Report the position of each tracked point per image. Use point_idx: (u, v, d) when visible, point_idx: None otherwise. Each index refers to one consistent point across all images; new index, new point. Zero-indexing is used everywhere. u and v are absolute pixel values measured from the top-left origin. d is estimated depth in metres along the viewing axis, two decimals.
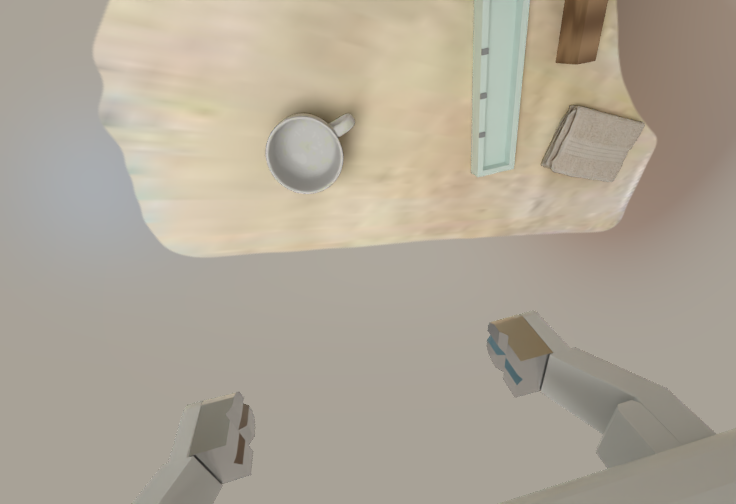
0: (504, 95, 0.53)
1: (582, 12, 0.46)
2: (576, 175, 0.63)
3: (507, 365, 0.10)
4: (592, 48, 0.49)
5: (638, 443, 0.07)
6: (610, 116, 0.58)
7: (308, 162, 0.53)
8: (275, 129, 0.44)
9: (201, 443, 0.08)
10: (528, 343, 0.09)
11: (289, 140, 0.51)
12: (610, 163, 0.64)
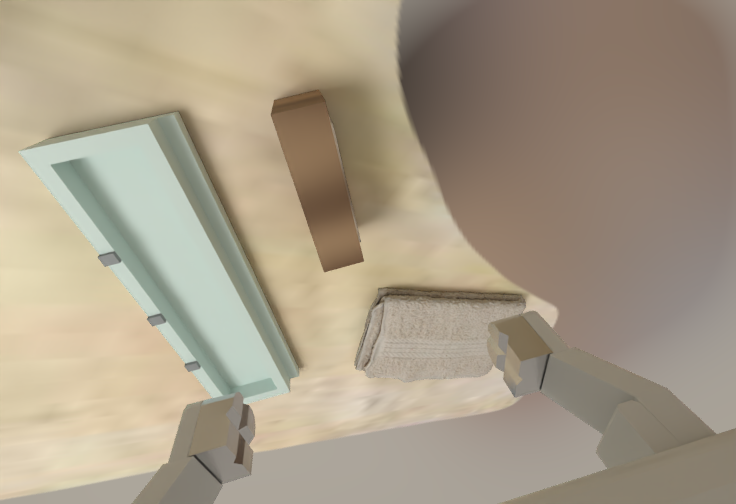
0: (224, 299, 0.28)
1: None
2: (416, 378, 0.38)
3: (507, 365, 0.10)
4: (346, 245, 0.23)
5: (638, 443, 0.07)
6: (454, 306, 0.33)
7: None
8: None
9: (201, 443, 0.08)
10: (528, 343, 0.09)
11: None
12: (475, 358, 0.38)
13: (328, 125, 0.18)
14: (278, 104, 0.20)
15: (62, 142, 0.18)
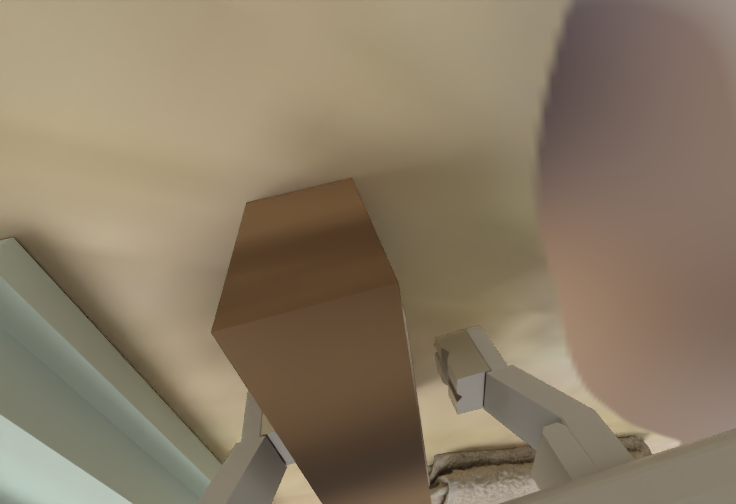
0: None
1: None
2: None
3: (450, 381, 0.10)
4: None
5: (559, 468, 0.07)
6: None
7: None
8: None
9: None
10: (467, 360, 0.09)
11: None
12: None
13: (398, 336, 0.06)
14: (251, 236, 0.07)
15: None
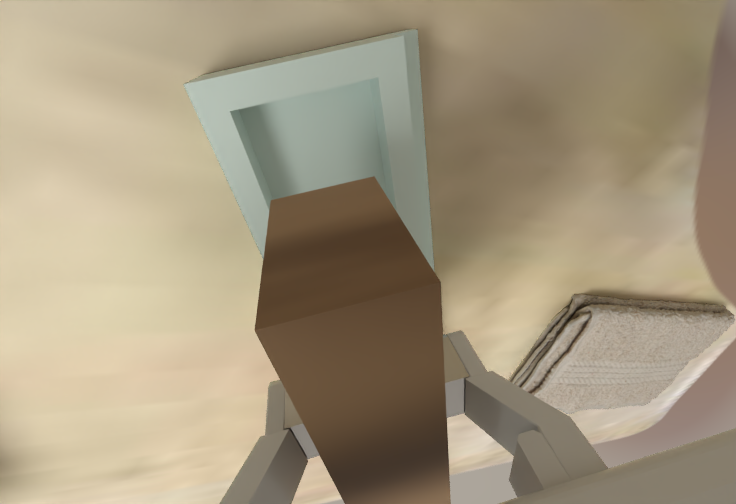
0: None
1: None
2: (580, 409, 0.30)
3: None
4: None
5: (533, 476, 0.07)
6: (667, 319, 0.25)
7: None
8: None
9: (294, 416, 0.09)
10: (447, 366, 0.09)
11: None
12: (652, 383, 0.30)
13: (435, 335, 0.06)
14: (281, 235, 0.07)
15: (258, 68, 0.10)
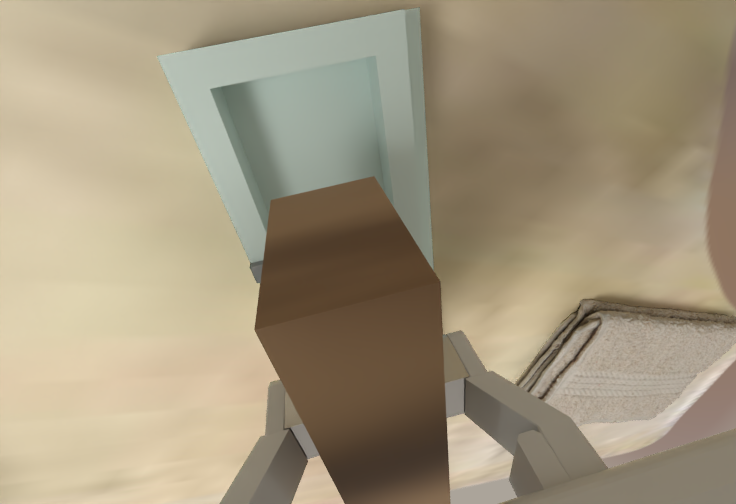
0: None
1: None
2: (584, 422, 0.28)
3: None
4: None
5: (533, 476, 0.07)
6: (679, 328, 0.23)
7: None
8: None
9: (294, 416, 0.09)
10: (447, 366, 0.09)
11: None
12: (659, 397, 0.29)
13: (434, 335, 0.06)
14: (280, 235, 0.07)
15: (242, 41, 0.09)
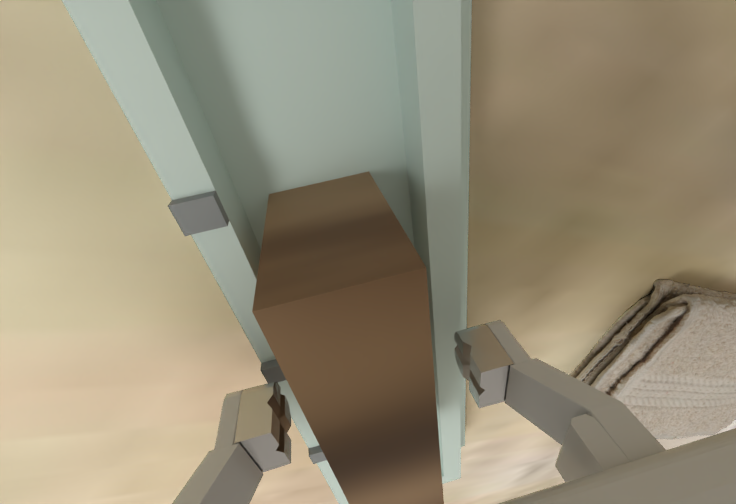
0: None
1: None
2: None
3: (471, 375, 0.10)
4: (415, 495, 0.11)
5: (589, 458, 0.07)
6: None
7: None
8: None
9: (245, 430, 0.08)
10: (490, 354, 0.09)
11: None
12: (732, 407, 0.23)
13: (422, 319, 0.06)
14: (278, 226, 0.08)
15: None
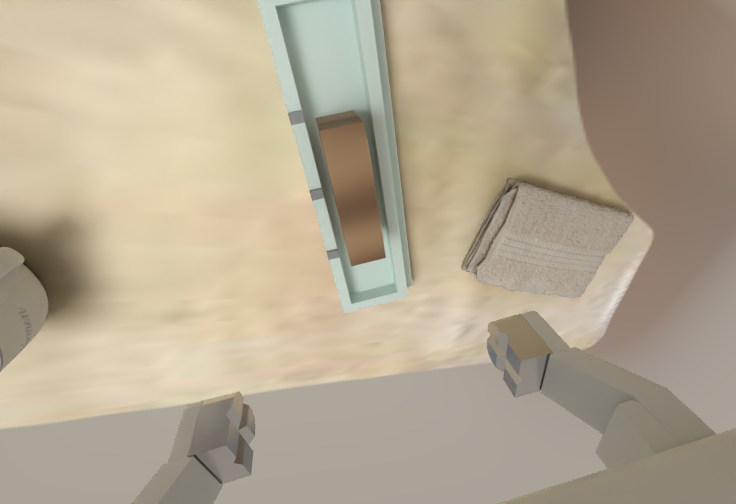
0: None
1: (333, 191, 0.24)
2: (519, 289, 0.38)
3: (507, 365, 0.10)
4: (372, 243, 0.26)
5: (638, 443, 0.07)
6: (577, 203, 0.33)
7: None
8: None
9: (201, 443, 0.08)
10: (528, 343, 0.09)
11: None
12: (576, 273, 0.39)
13: (365, 140, 0.22)
14: (321, 122, 0.24)
15: None
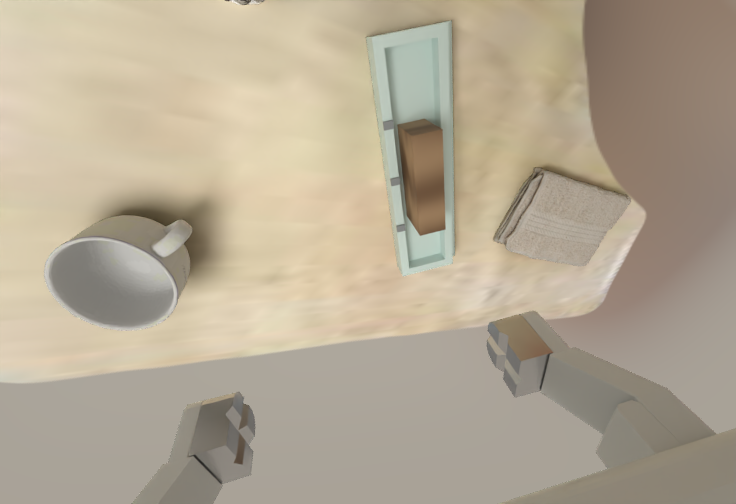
0: None
1: (413, 179, 0.33)
2: (538, 257, 0.47)
3: (507, 365, 0.10)
4: (437, 217, 0.36)
5: (638, 443, 0.07)
6: (587, 187, 0.43)
7: (153, 271, 0.38)
8: (51, 256, 0.28)
9: (201, 443, 0.08)
10: (528, 343, 0.09)
11: (117, 246, 0.36)
12: (584, 245, 0.48)
13: (441, 142, 0.31)
14: (406, 128, 0.33)
15: (397, 32, 0.29)
